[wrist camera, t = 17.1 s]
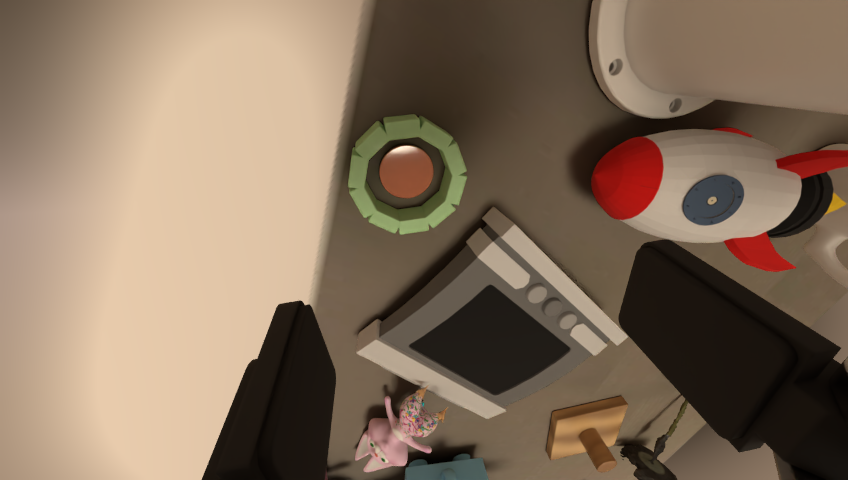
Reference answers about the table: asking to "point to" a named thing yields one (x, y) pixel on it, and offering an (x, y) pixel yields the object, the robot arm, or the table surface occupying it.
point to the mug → (832, 227)
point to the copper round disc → (406, 171)
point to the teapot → (448, 469)
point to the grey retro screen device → (491, 324)
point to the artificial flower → (652, 456)
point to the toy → (717, 190)
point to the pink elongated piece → (397, 433)
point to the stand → (587, 431)
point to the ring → (415, 216)
